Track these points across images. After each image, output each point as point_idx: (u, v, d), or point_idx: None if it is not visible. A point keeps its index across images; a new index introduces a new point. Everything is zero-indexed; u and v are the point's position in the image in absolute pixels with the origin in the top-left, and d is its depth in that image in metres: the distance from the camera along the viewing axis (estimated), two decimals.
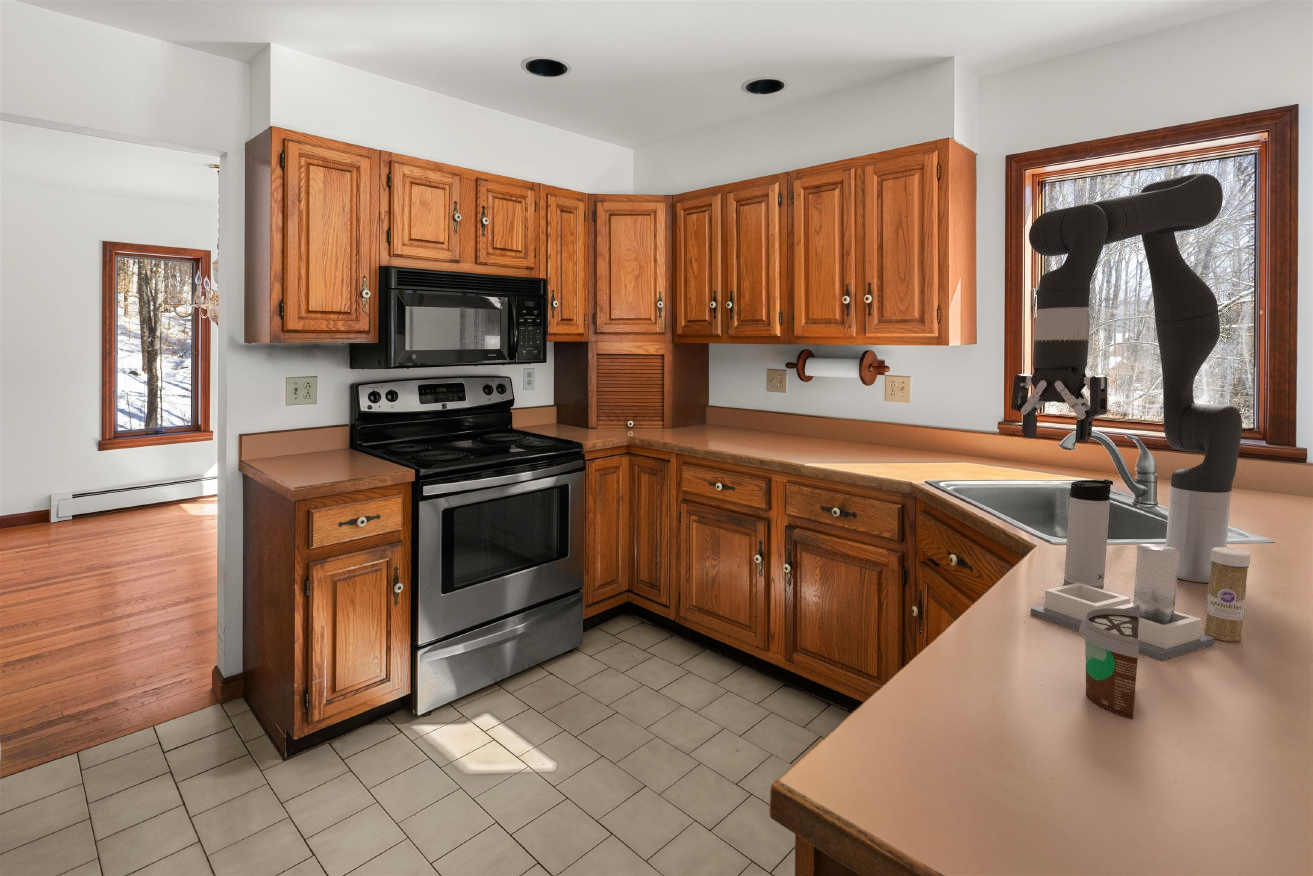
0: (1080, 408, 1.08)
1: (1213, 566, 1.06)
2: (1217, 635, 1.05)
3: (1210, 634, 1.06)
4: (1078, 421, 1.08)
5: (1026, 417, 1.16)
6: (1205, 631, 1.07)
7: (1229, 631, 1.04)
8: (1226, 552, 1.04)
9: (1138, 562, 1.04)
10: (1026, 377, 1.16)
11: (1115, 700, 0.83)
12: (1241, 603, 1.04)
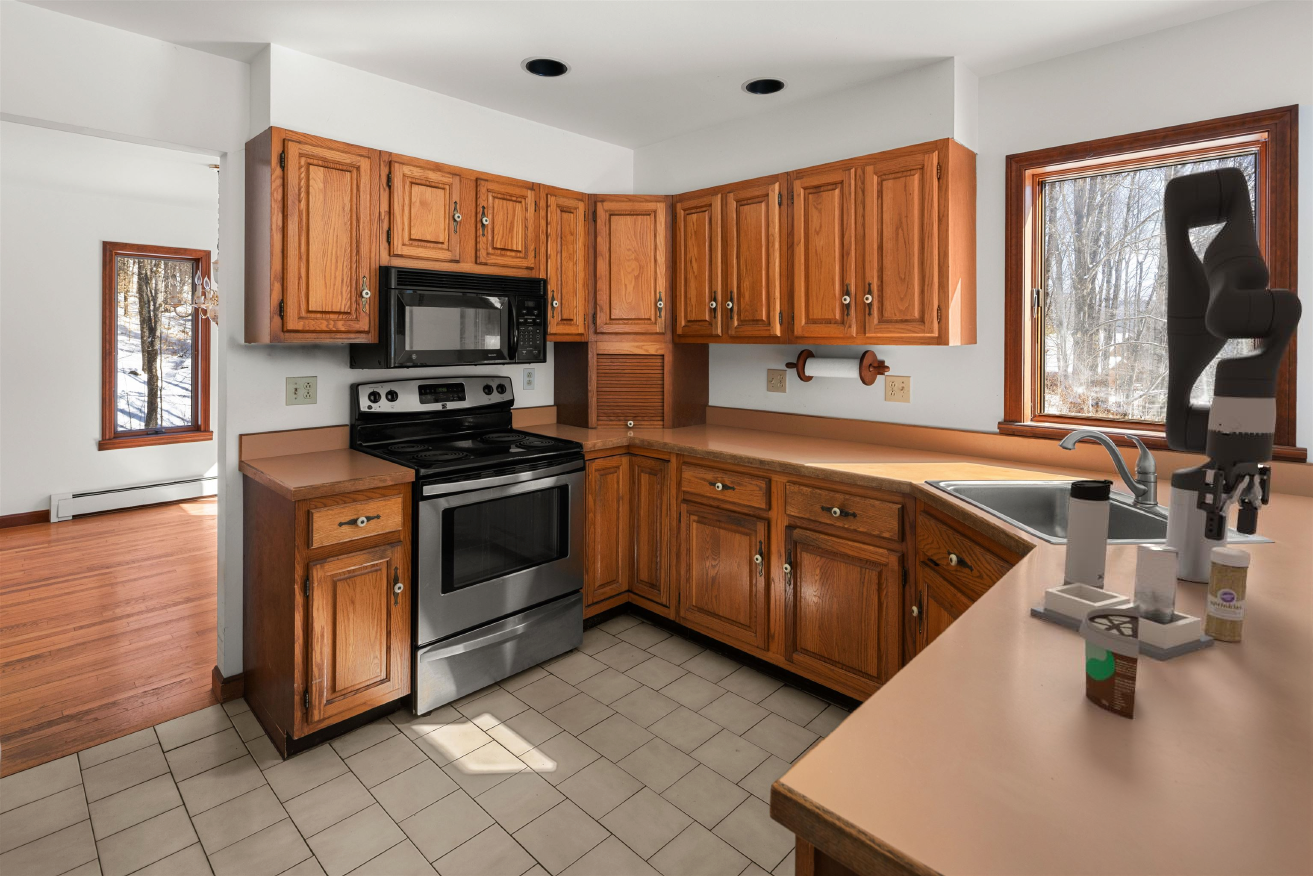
0: (1259, 499, 1.05)
1: (1213, 566, 1.06)
2: (1217, 635, 1.05)
3: (1210, 634, 1.06)
4: (1256, 513, 1.05)
5: (1224, 518, 1.02)
6: (1205, 631, 1.07)
7: (1229, 631, 1.04)
8: (1226, 552, 1.04)
9: (1138, 562, 1.04)
10: None
11: (1115, 701, 0.83)
12: (1241, 603, 1.04)
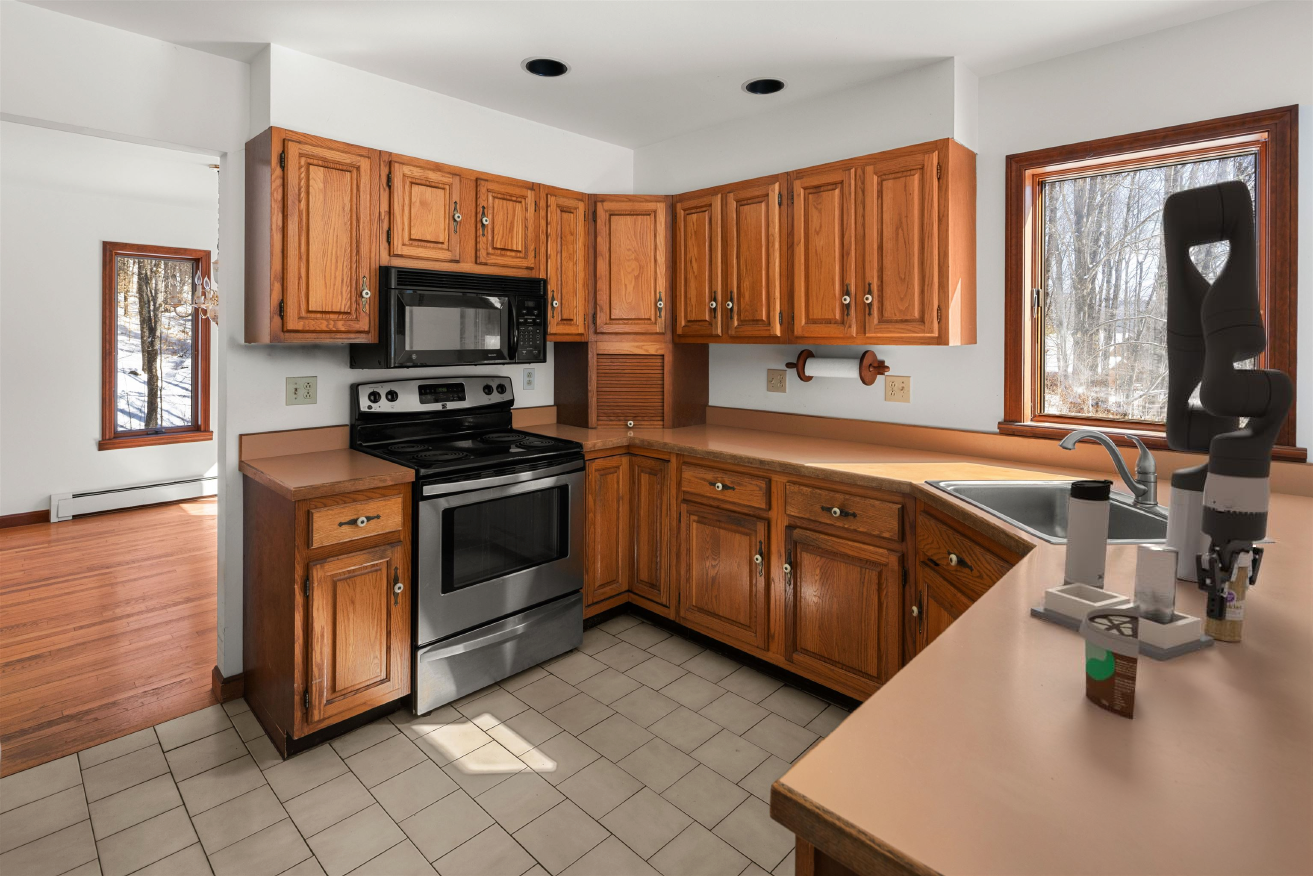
0: (1248, 580, 1.06)
1: None
2: (1217, 635, 1.05)
3: (1210, 634, 1.06)
4: None
5: (1225, 599, 1.04)
6: (1205, 631, 1.07)
7: (1229, 631, 1.04)
8: None
9: (1138, 562, 1.04)
10: (1214, 556, 1.02)
11: (1115, 701, 0.83)
12: (1241, 603, 1.04)
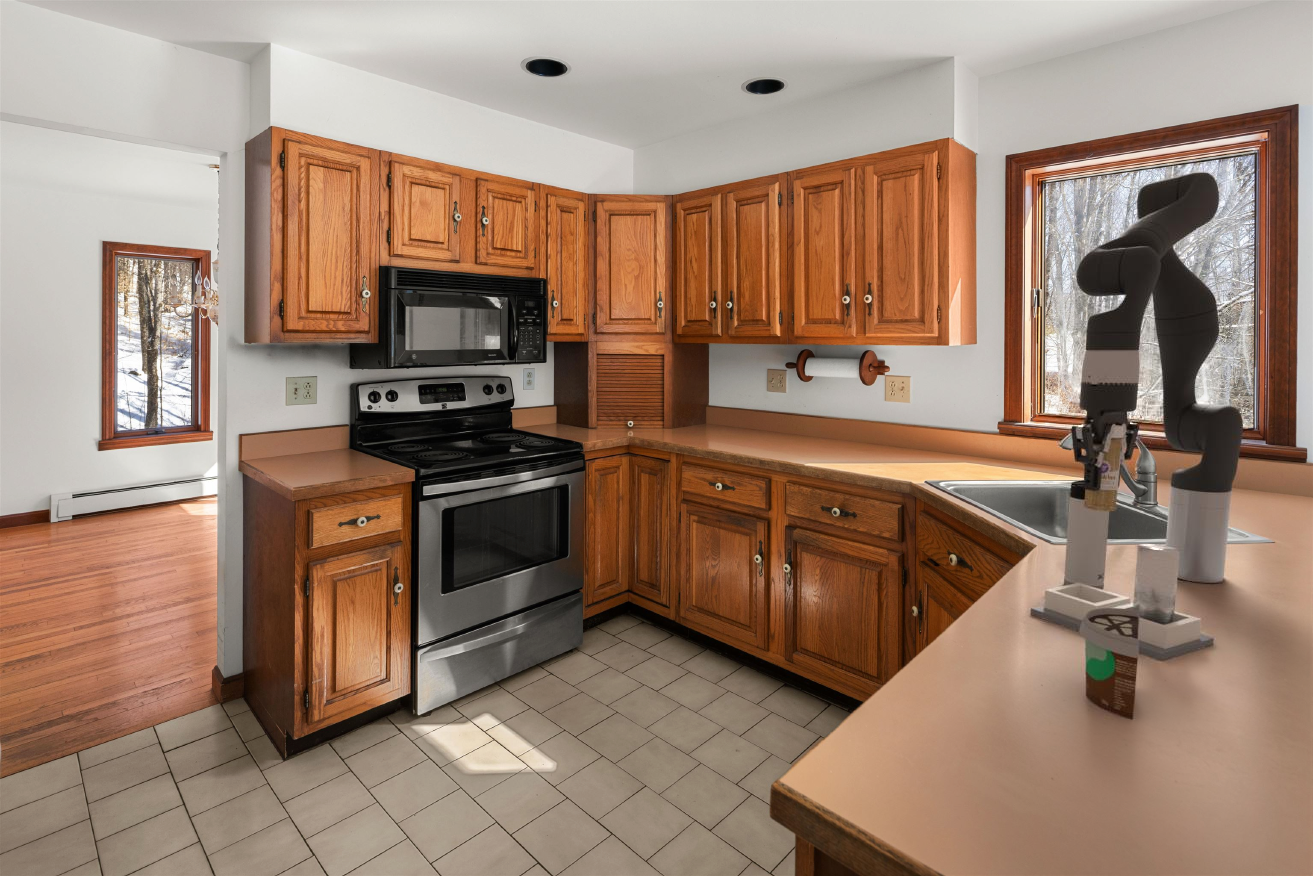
0: (1123, 454, 1.11)
1: None
2: (1093, 505, 1.10)
3: (1088, 505, 1.11)
4: None
5: (1099, 469, 1.09)
6: (1084, 504, 1.12)
7: (1104, 501, 1.09)
8: None
9: (1138, 562, 1.04)
10: (1088, 426, 1.07)
11: (1115, 700, 0.83)
12: (1115, 473, 1.09)
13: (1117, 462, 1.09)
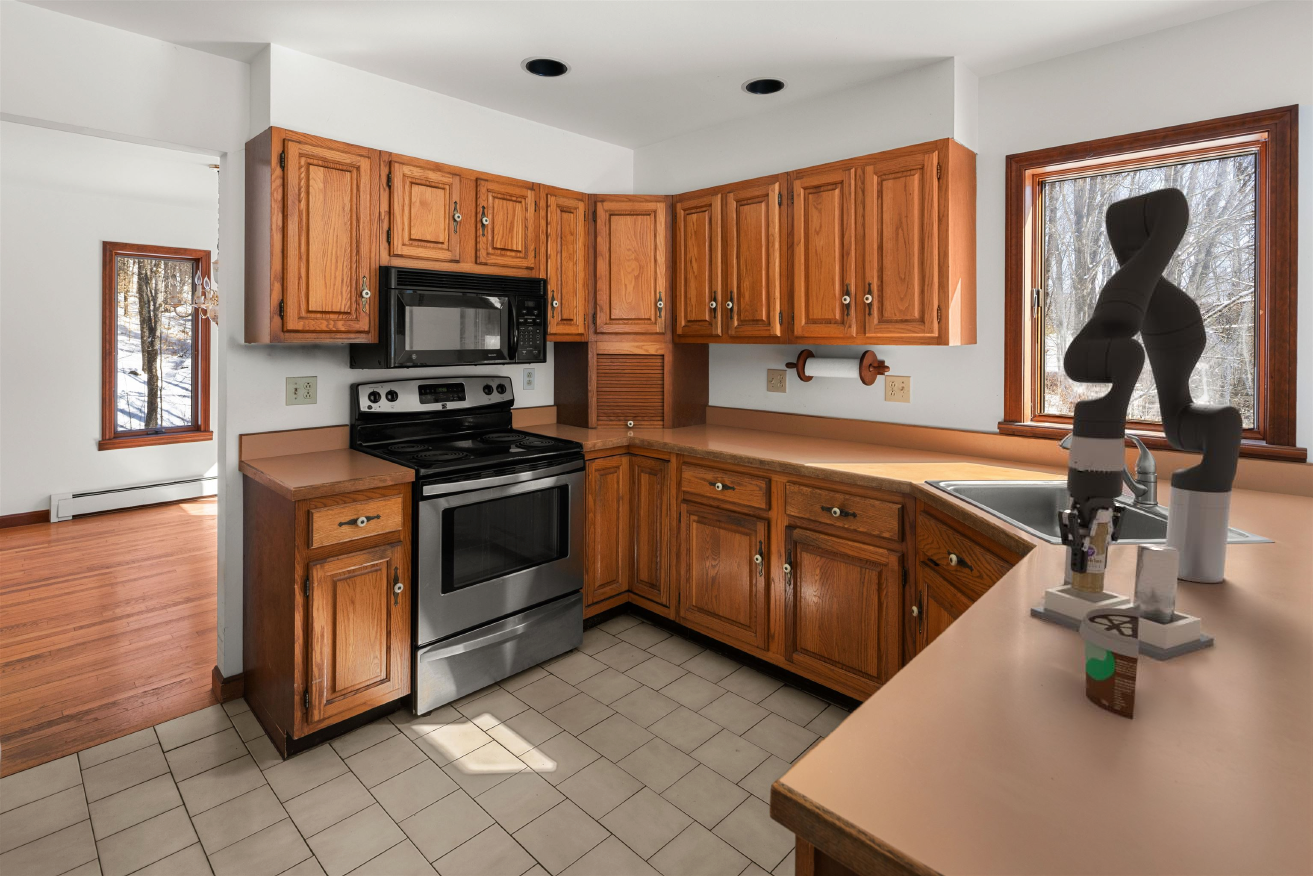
0: (1110, 536, 1.13)
1: None
2: (1080, 587, 1.12)
3: (1075, 587, 1.13)
4: (1106, 549, 1.13)
5: (1086, 553, 1.11)
6: (1071, 584, 1.14)
7: (1091, 584, 1.12)
8: None
9: (1138, 562, 1.04)
10: (1074, 512, 1.10)
11: (1115, 700, 0.83)
12: (1101, 557, 1.11)
13: (1103, 546, 1.11)
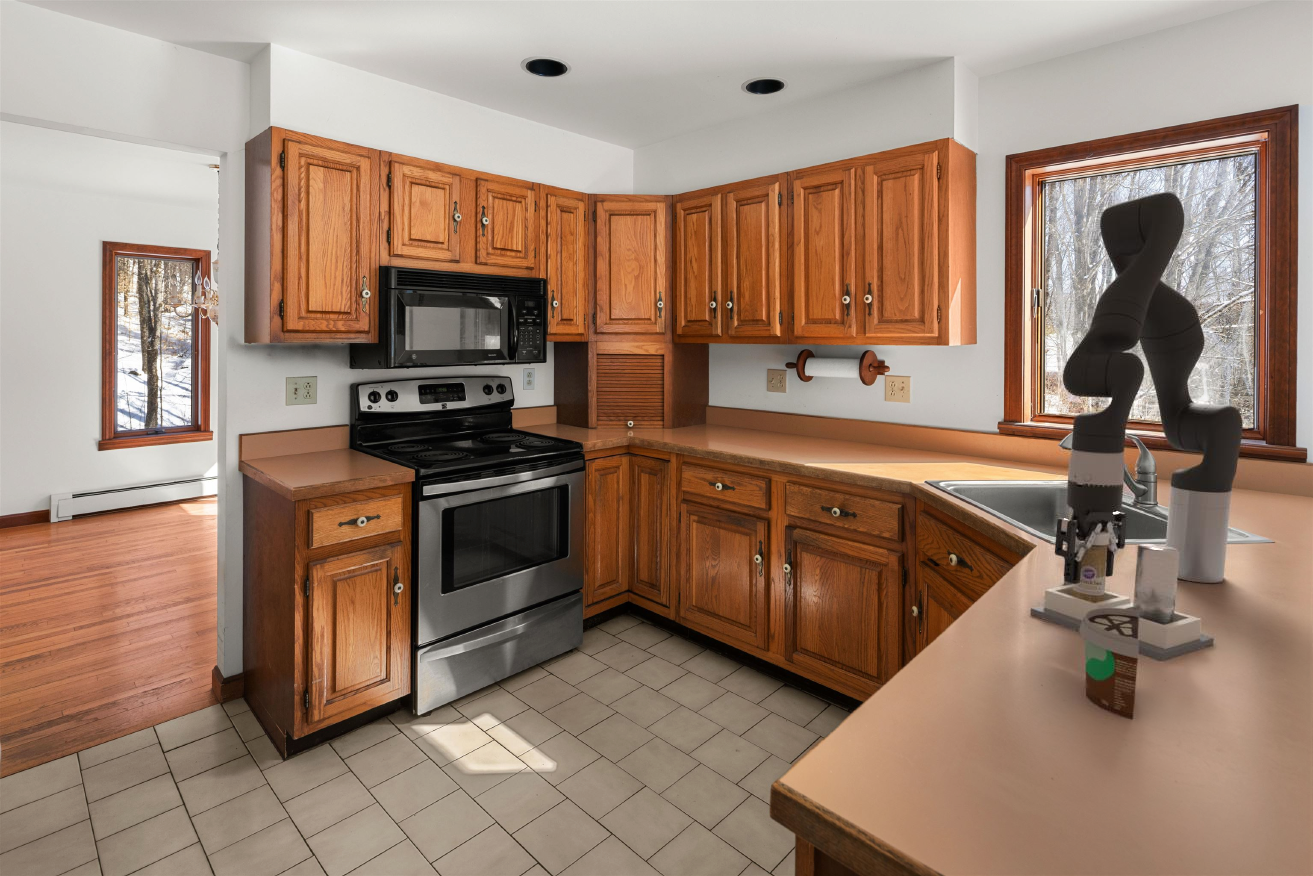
0: (1115, 544, 1.14)
1: None
2: None
3: None
4: (1112, 556, 1.14)
5: (1079, 563, 1.10)
6: None
7: None
8: None
9: (1138, 562, 1.04)
10: None
11: (1115, 701, 0.83)
12: (1101, 579, 1.12)
13: (1103, 568, 1.12)
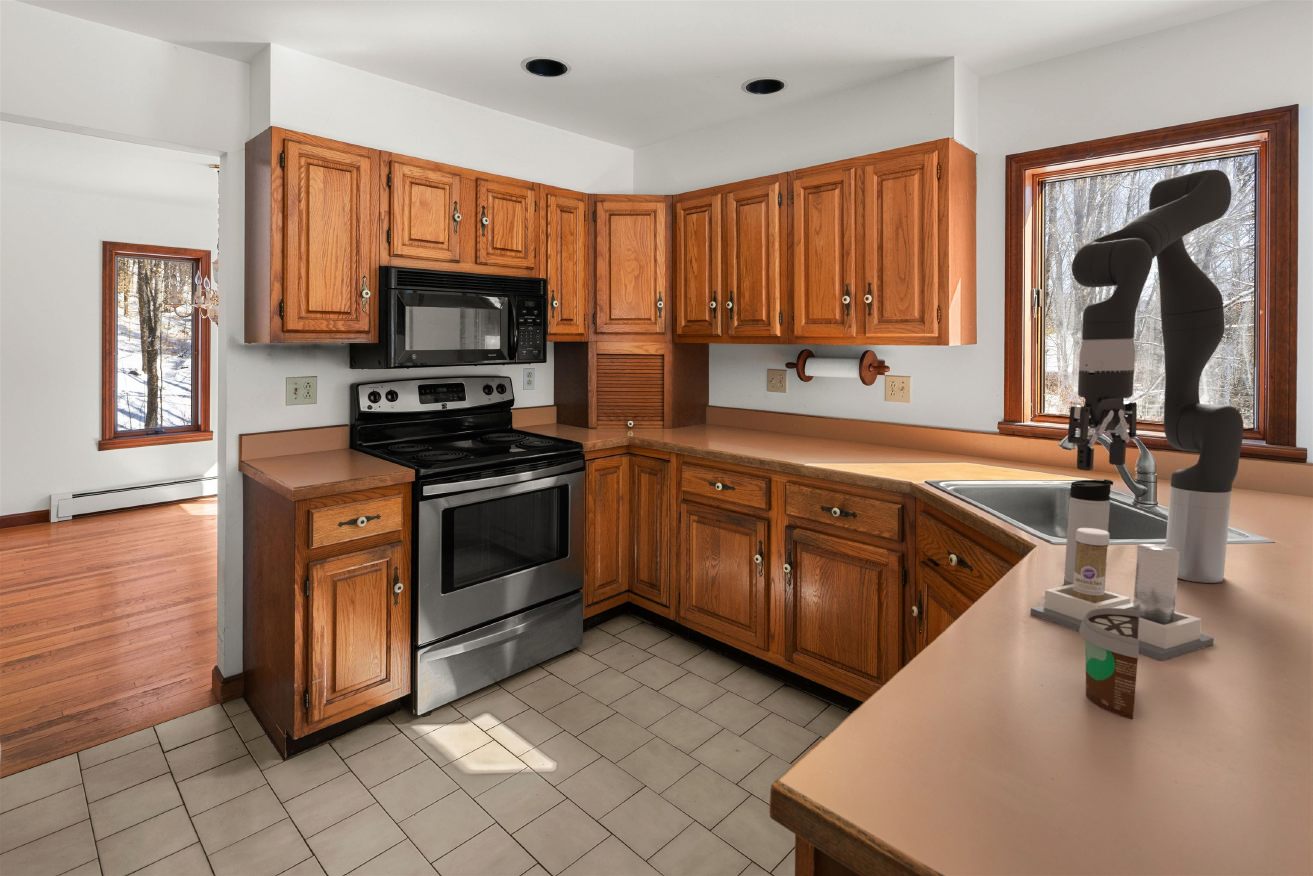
0: (1126, 433, 1.16)
1: (1077, 545, 1.13)
2: None
3: None
4: (1124, 445, 1.16)
5: (1092, 449, 1.12)
6: None
7: None
8: (1087, 532, 1.12)
9: (1138, 562, 1.04)
10: None
11: (1115, 700, 0.83)
12: (1101, 579, 1.12)
13: (1103, 568, 1.12)
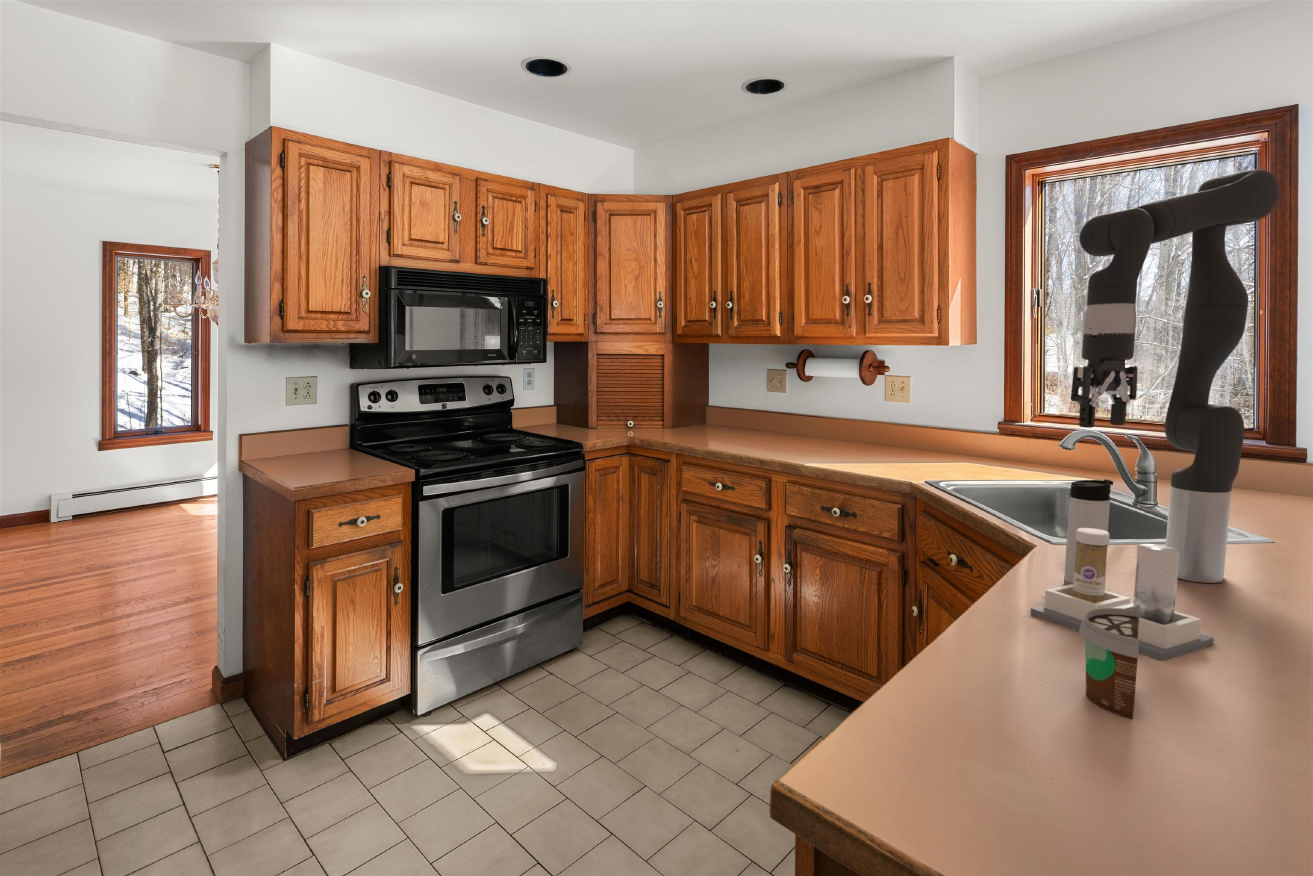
0: (1127, 394, 1.23)
1: (1077, 545, 1.13)
2: None
3: None
4: (1125, 406, 1.23)
5: (1093, 407, 1.19)
6: None
7: None
8: (1087, 532, 1.12)
9: (1138, 562, 1.04)
10: None
11: (1115, 700, 0.83)
12: (1101, 579, 1.12)
13: (1103, 568, 1.12)
